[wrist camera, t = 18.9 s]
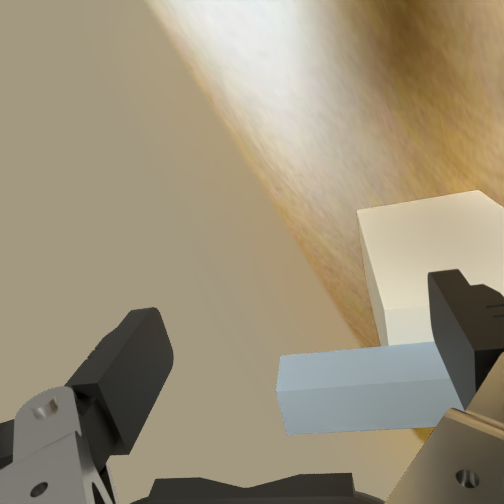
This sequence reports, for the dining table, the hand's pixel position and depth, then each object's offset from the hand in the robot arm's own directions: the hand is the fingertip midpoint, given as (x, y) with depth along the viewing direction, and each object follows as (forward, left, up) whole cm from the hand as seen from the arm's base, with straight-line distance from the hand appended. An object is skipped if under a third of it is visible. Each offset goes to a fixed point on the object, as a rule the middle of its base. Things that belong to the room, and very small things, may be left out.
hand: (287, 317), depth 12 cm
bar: (+15, +9, -16) cm, 24 cm away
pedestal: (+15, +11, -40) cm, 44 cm away
